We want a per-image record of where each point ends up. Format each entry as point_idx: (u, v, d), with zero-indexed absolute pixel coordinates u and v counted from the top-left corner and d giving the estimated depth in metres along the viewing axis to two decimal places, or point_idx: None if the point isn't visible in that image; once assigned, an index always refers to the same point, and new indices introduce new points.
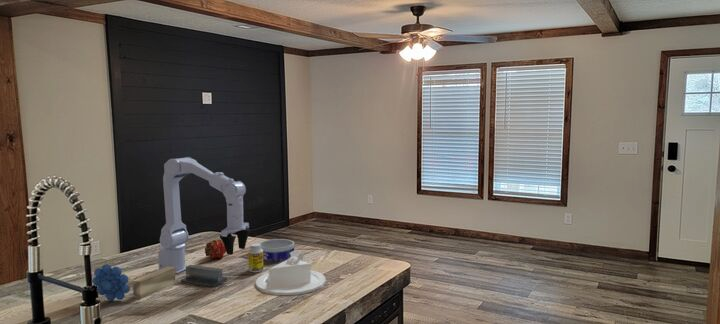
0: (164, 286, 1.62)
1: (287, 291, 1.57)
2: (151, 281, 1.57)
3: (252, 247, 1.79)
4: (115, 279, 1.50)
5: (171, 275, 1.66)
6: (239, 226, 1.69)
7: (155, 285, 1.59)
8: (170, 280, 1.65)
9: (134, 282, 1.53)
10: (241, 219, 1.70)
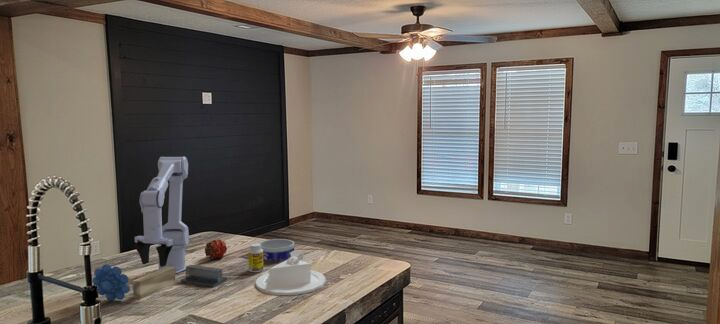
0: (164, 286, 1.62)
1: (287, 291, 1.57)
2: (151, 281, 1.57)
3: (252, 247, 1.79)
4: (115, 279, 1.50)
5: (171, 275, 1.66)
6: (144, 237, 1.57)
7: (155, 285, 1.59)
8: (170, 280, 1.65)
9: (134, 282, 1.53)
10: (146, 231, 1.56)
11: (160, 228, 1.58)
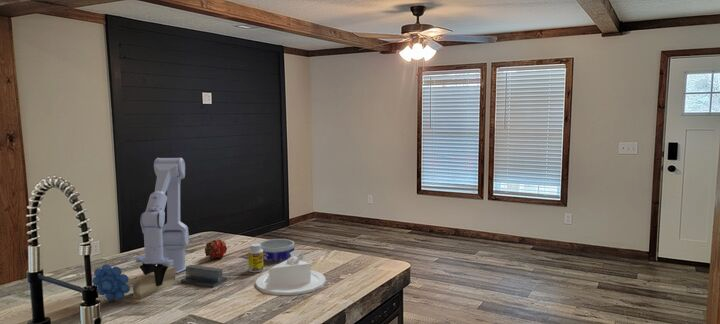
0: (164, 286, 1.62)
1: (287, 291, 1.57)
2: (151, 281, 1.57)
3: (252, 247, 1.79)
4: (115, 279, 1.50)
5: (171, 275, 1.65)
6: (145, 258, 1.57)
7: (155, 284, 1.59)
8: (170, 280, 1.65)
9: (134, 282, 1.53)
10: (147, 252, 1.57)
11: (161, 248, 1.59)
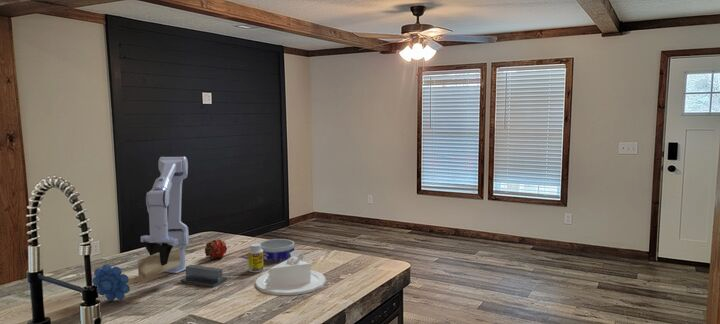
0: (169, 266, 1.63)
1: (287, 291, 1.57)
2: (156, 261, 1.57)
3: (252, 247, 1.79)
4: (115, 279, 1.50)
5: (176, 256, 1.66)
6: (150, 237, 1.58)
7: (160, 264, 1.59)
8: (174, 261, 1.65)
9: (139, 261, 1.53)
10: (152, 231, 1.57)
11: (166, 228, 1.59)
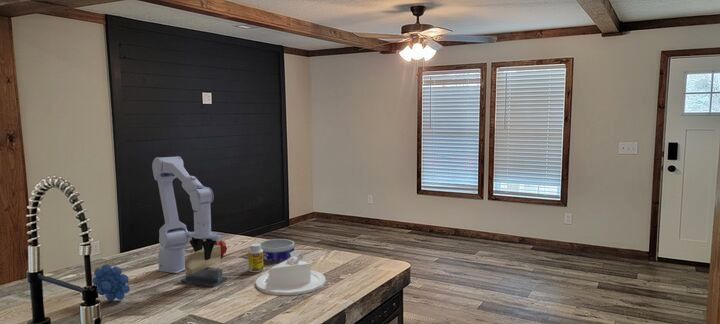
0: (211, 263, 1.71)
1: (287, 291, 1.57)
2: (201, 257, 1.65)
3: (252, 247, 1.79)
4: (115, 279, 1.50)
5: (217, 253, 1.74)
6: (195, 233, 1.66)
7: (204, 261, 1.67)
8: (216, 257, 1.73)
9: (186, 257, 1.61)
10: (196, 227, 1.65)
11: (209, 224, 1.67)
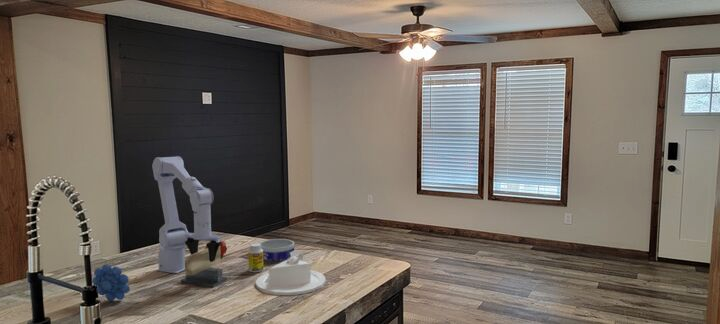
0: (211, 264, 1.71)
1: (287, 291, 1.57)
2: (201, 258, 1.65)
3: (252, 247, 1.79)
4: (115, 279, 1.50)
5: (217, 254, 1.74)
6: (195, 234, 1.66)
7: (204, 262, 1.67)
8: (216, 258, 1.73)
9: (186, 258, 1.61)
10: (196, 228, 1.65)
11: (209, 225, 1.67)
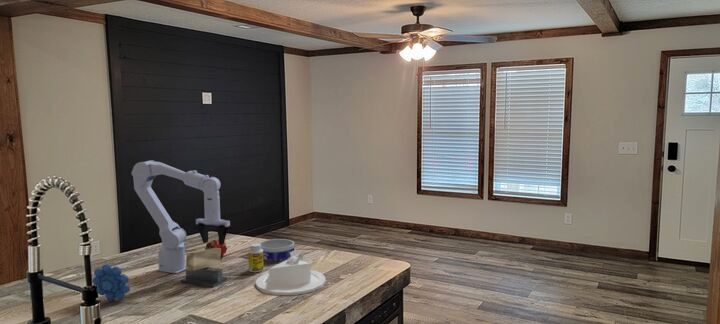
0: (212, 264, 1.71)
1: (287, 291, 1.57)
2: (202, 255, 1.66)
3: (252, 247, 1.79)
4: (115, 279, 1.50)
5: (217, 255, 1.75)
6: (205, 219, 1.79)
7: (205, 260, 1.67)
8: (216, 259, 1.74)
9: (188, 254, 1.62)
10: (207, 213, 1.78)
11: (219, 211, 1.80)
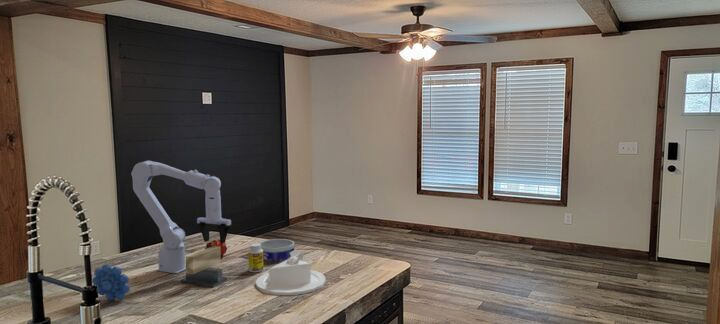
0: (211, 264, 1.71)
1: (287, 291, 1.57)
2: (202, 258, 1.65)
3: (252, 247, 1.79)
4: (115, 279, 1.50)
5: (217, 254, 1.74)
6: (207, 218, 1.81)
7: (205, 261, 1.67)
8: (216, 258, 1.73)
9: (187, 257, 1.61)
10: (208, 212, 1.80)
11: (220, 210, 1.82)
